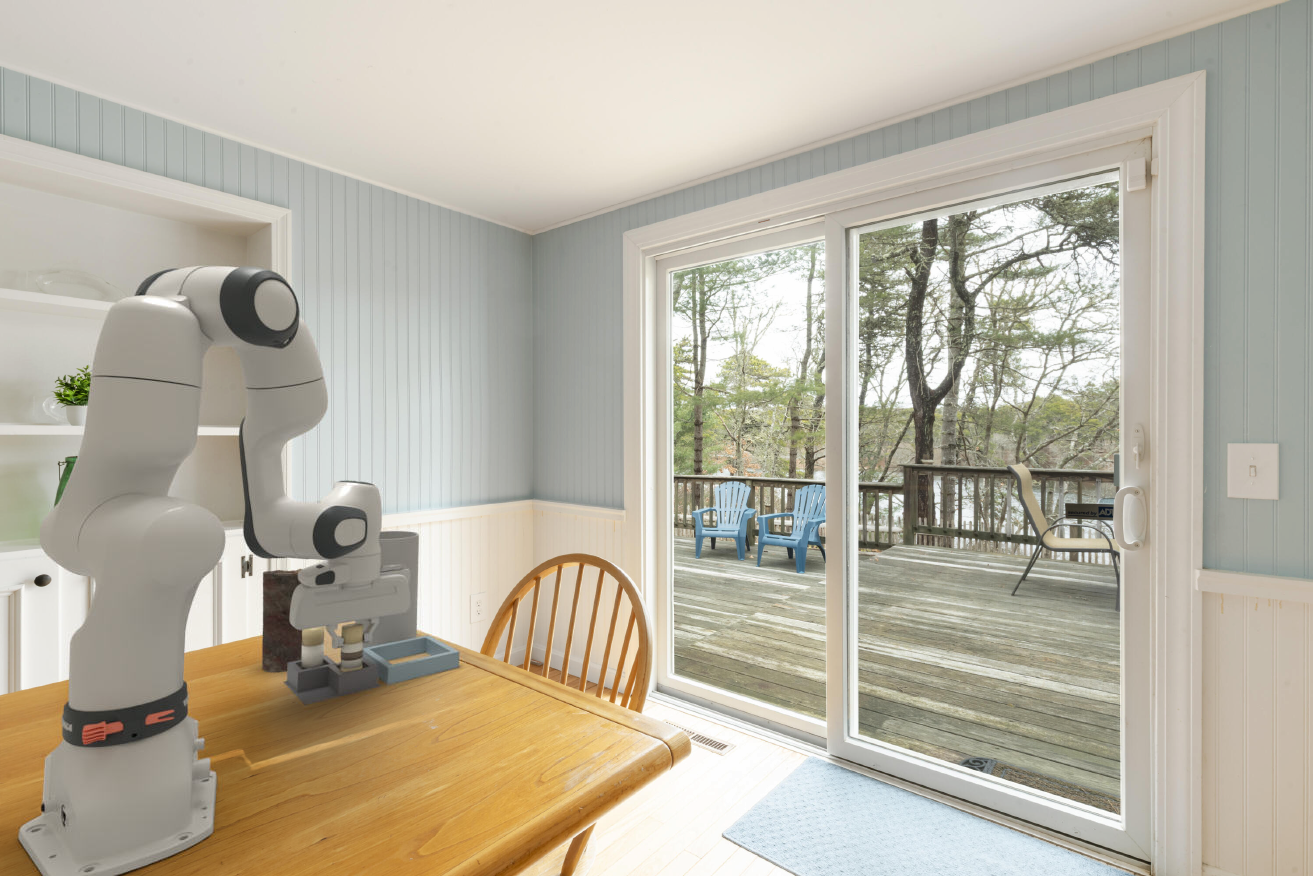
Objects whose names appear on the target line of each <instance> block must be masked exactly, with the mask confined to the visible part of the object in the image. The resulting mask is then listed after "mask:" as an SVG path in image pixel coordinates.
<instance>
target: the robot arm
mask: <svg viewBox="0 0 1313 876" xmlns="http://www.w3.org/2000/svg"><path fill="white" fill-rule="evenodd" d="M212 346H215V347H222V348H223V347H224V348H225V347H226V348H227V347H230V348H231V349H232V350H233V352H234V353H235V354H236V356H237V357H238V359H239V364H240V370H241V376H242V380H243V386H244V389H245V390H244V391H245V395H246V413H245V416H244V417H243V418H242V420H241V422H240V425H239V430H238V431H239V432H238V445H239V446H238V448H239V459H240V467H241V477H242V478H241V480H242V487H243V497H244V515H243V516H244V517H243V526H242V528H243V529H242V533H243V534H242V535H243V540H244V542H245V543H246V546H247V548H248V549H249V550H250V552H251V553H253V555H255V556H256V557H259V558H260V559H265V560H268V559H288V558H289V559H301V560H316V561H317V560H319V561H320V562H318V563H315V564H313V565H310V566H307V567H305V568H301V569H302V570H300V571H299V572H298V580H299V581H300V582H301V584H300V585H298V586H297V587H296V589H295V590H294V592H293V596H292V601H291V607H290V623H291V625H292V626H293V627H295V628H296V629H298V630H304V629H310V628H316V627H322V626H324V627H325V630H326V632H327V633H328V634H329V637H331V646H332V648H333V649H334V650H336V649H341V647H343V646H344V644H343V642H344V638H343V637H342V636H341V635H337V632H335V631H337V630H338V627H339V626H338V625H339V624H347V623H350V622H355V621H358V620H364V619H367V621H368V622H370V623H369V625H368V627H367V629H366V630H365V631H364V632H363V643H368V642H372V633H373V632H374V630H375V628H376V627H377V625H378V623H379V617H381V616H387V615H393V614H399V613H405V612H407V611H408V609H409V608H410V591H409V585H408V583H409V581H410V570H409V568H408V567H406V566H403V564H395V565H385V566H381V548H380V545H379V535H380V532H381V531H382V528H383V527H382V524H383V523H382V521H383V519H382V517H383V515H382V514H383V511H382V499H381V493H380V490H379V488H378V486H377V485H375V484H373V483H370V482H366V481H356V480H339V481H336V482H334V484H333V487H332V490H331V491H330V492H329V493H328V494H326V495H325V496H323V498H321V499H318V500H316V501H314V502H310V501H309V502H308V501H295V500H292V498H290V497H288V496H287V494H286V493H285V487H284V474H283V463H282V462H283V461H282V451H283V450H284V449H283V448H284V446H285V445H286V444H287V443H288V442H289V441H291V440H293V439H295V438H298V437H299V436H302V435H303V434H306V433H307V432H308V433H309V431H311V430H313V429H314V428H315V427H316V426H317V425H318V424H319V423H320V422H321V421H322V420H323V418H324V417H325V415H326V413H327V411H328V408H329V407H328V405H329V396H328V389H327V385H326V380H325V375H324V372H323V371H324V370H323V367H322V363H321V359H320V355H319V353H318V350H317V347H316V345H315V342H314V339H313V337H312V334H311V332H310V329H309V328H308V325H307V324H306V322H305V320H304V319H303V318H302V317H301V316H300V306H299V302H298V298H297V295H296V293H295V292H294V290H293V288H292V287H291V285H290V284H289V283H288V281H287V280H286V279H285V278H284V277H283V276H282V275H281V274H279V273H277V272H276V271H274V270H271V269H267V268H263V267H258V266H252V265H251V266H250V265H244V266H240V267H237V266H236V267H235V266H224V265H223V266H222V265H221V266H219V265H215V264H214V265H212V264H210V265H209V264H208V265H207V264H206V265H196V266H189V267H188V266H187V267H183V268H175V267H174V268H168V269H167V268H166V269H163V270H161V271H158V272H155V273H153V274H151V275H150V276H148V277H146V278H145V279H144V280H143V281H142V282H141V283H140V285H139V286H138V287H137V289H136V292H135V293H134V296H128V297H125V298H122V299H120V300H118V301H116V302H115V303H114V304H113V305H112V306H111V307H110V308H109V311H108V312H107V315H106V318H105V319H104V322H103V325H102V327H101V330H100V334H99V337H98V341H97V345H96V347H95V352H94V357H93V361H92V369H91V373H90V374H91V376H90V383H89V391H88V392H89V393H88V401H87V406H86V407H87V409H86V416H85V424H84V431H83V438H82V441H81V445H80V448H79V451H78V455H77V457H76V460H75V462H74V465H73V468H72V470H71V473H70V474H69V477H68V480H67V482H66V485H65V486H64V489H63V492H62V495H61V496H60V499H59V501H58V503H57V504H56V505H54V507H53V508H51V510H50V511H49V512H47V514H46V515H45V517H44V519H43V520H42V522H41V525H40V529H39V535H38V536H39V537H38V538H39V543H40V546H41V548H42V550H43V552H44V553H45V555H46V556H47V557H49V558H50V559H51V560H52V561H53V562H54V563H56V564H57V565H59V566H60V567H62V568H63V569H64V570H66V571H68V572H70V573H73V574H75V575H78V576H82V577H87V578H93V579H94V582H95V588H94V593H93V596H92V597H93V598H92V600H91V603H90V607H89V609H88V611H87V612H88V613H87V615H86V618H85V620H84V621H83V623H82V625H81V626H80V627H79V628H78V629H77V630H76V631H75V632H74V633H73V635H72V636H71V639H70V643H69V663H68V664H69V666H68V667H69V669H68V701H66V703H65V704H64V705H63V712H62V714H61V715H62V716H61V727H62V730H61V731H62V732H61V734H62V741H61V743H59V744H58V746H57V747H56V748H54V750H52V751H51V752H50V753H49V754H48V755H47V756H46V757H45V759H44V770H43V772H44V773H43V786H42V787H43V788H42V789H43V790H42V803H41V805H40V811H41V815H39V816H37V817H35V818H34V819H32V820H29V821H28V822H26V823H24V824H23V825H21V826H20V828H19V831H18V840H19V842H20V843H21V845H22V847H23V848H24V849H25V851H26V852H27V854H28V855H29V857H30V858H31V860H32V862H33V863H34V865H35V866H36V867H37V869H38V870H39V872H40V874H41V875H42V876H118V875H121V874H124V873H127V872H130V871H133V870H136V869H139V868H142V867H145V866H148V865H150V864H152V863H156V862H158V861H160V860H161V861H162V860H163V859H166V858H168V857H170V856H173V855H175V854H178V853H179V852H182V851H184V850H187V849H188V848H190V847H192V846H194V845H196V844H198V843H200V842H201V841H203V840H204V839H206V838H209V836H211V835H212V834H213V833H214V824H215V814H216V812H215V811H216V798H217V797H216V796H217V785H218V784H217V783H218V777H217V772H216V771H214V770H211V757H205V758H201V759H198V751H202V750H205V744H206V743H205V742H206V741H205V738H204V737H201V738H199V720H196V719H195V718H193V717H191V716H189V715H188V714H189V705H188V704H189V701H190V700H189V699H190V696H189V691H188V684H187V683H188V682H187V681H185V680H184V676H185V675H184V674H185V673H184V672H185V651H186V650H185V647H186V646H185V645H186V631H187V625H188V624H187V623H188V619H189V615H190V612H191V608H192V605H193V602H194V599H195V596H196V593H197V591H198V588H199V586H200V584H201V582H202V581H203V579H204V578H205V577H206V576H207V575H208V574H210V573H211V572H212V571H213V570H214V569H215V568H216V566H217V565H218V563H219V562H220V561H221V559H222V557H223V554H224V551H225V548H226V547H225V546H226V531H225V528H224V526H223V524H222V522H221V520H220V519H219V517H218V516H217V515H216V514H215V513H213V512H212V511H211V510H209V509H206V508H205V507H203V506H201V505H199V504H197V503H194V502H192V501H189V500H187V499H185V498H181V497H177V496H176V497H175V496H168V494H169V491H170V488H171V485H172V483H173V481H174V478H175V476H176V474H177V472H178V470H179V468H180V467H181V465H182V463H183V462H184V461H185V460H186V459H187V458H188V457H189V456H190V455H191V454H192V453H193V452H194V450H195V448H196V446H197V441H198V433H199V431H198V430H199V421H200V411H201V402H202V392H203V391H202V390H203V379H204V358H205V356H206V353H207V351H208V350H209V349H210V348H211V347H212ZM403 568H405V569H403Z"/></svg>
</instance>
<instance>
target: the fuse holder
mask: <svg viewBox="0 0 1313 876" xmlns="http://www.w3.org/2000/svg"><path fill="white" fill-rule="evenodd" d="M286 673H287V675H286V681H283V684H284V685H286V686H287V688H288V689H289V690H290V691H291V692H293V694H294V695H295V696H296V698H298V700H300V701H301V702H302V703H303V705H305V706H307V705H311V704H314V703H319V702H322V701H323V702H324V701H327V700H331V699H335V698H339V697H343V696H344V697H345V696H347V695H351V694H355V693H356V694H357V693H359V692H364V691H367V690H371V689H375V688H380V687H381V685H380V684H379V683H378V677H377V674H378V667H377V666H376V665H374V664H373V663H372V662H370V661H369V660H367V659H366V658H365V657H364V658H363V661H362V668H361V669H357V670H352V671H348V672H342V671H341V661H340V662H336V661H334V659H332V658H330V657H329V656H328V655H327V654H324V662H323V666H318V667H313V668H309V669H304V670H302V669H301V660H299V661H294V662H289V663H287V671H286Z"/></svg>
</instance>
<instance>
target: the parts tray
mask: <svg viewBox="0 0 1313 876" xmlns="http://www.w3.org/2000/svg"><path fill="white" fill-rule="evenodd" d="M423 653H426V654H427V655H429V656H424V657H420V658H417V659H410V660H407V661H401V662H398V663H391V662H389V661H393V660H397V659H400V658H406V657H410V656H416V655H419V654H423ZM364 657H365V658H366V659H367V660H369V661H370V662H372V663H373V664H374V665H376V666H377V667H378V674H377V679H380V680H381V681H382V682H383V683H385V684H386V685H387V686H389V685H394V684H397V683H402V682H405V681H409V680H413V679H417V678H422V677H426V676H429V675H434V674H438V673H442V672H446V671H451V670H454V669H459V668H460V651H459V650H457V649H456V648H454V647H452V646H450V645H448V644H446V643H445V642H443V641H440V640H439V639H437V638H435V637H433V636H431V635H429V634H427V635H423V636H418V637H417V638H412V639H407V640H402V641H397V642H392V643H387V644H382V645H377V646H372V647H367V648H363V658H364Z"/></svg>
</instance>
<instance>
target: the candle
mask: <svg viewBox="0 0 1313 876" xmlns="http://www.w3.org/2000/svg"><path fill="white" fill-rule="evenodd" d="M302 569H303V568H298V569H297V570H284V569H276V570H268V571H264V572H263V573H262V639H261V640H262V642H261V643H262V645H261V646H262V647H261V649H262V652H261V654H262V656H261V657H262V659H261V661H262V664H261V665H262V670H263V671H264V672H266V673H284V672H285V673H287V663H289V662H294V661H299V660H301V658H302V630H298V629H296V628H295V627H293V626H292V625H291V623H290V607H291V601H292V596H293V592H294V590H295V589H296V587H297V586H298V585H300V584H301V582H300V581H299V580H298V572H299V571H300V570H302Z"/></svg>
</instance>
